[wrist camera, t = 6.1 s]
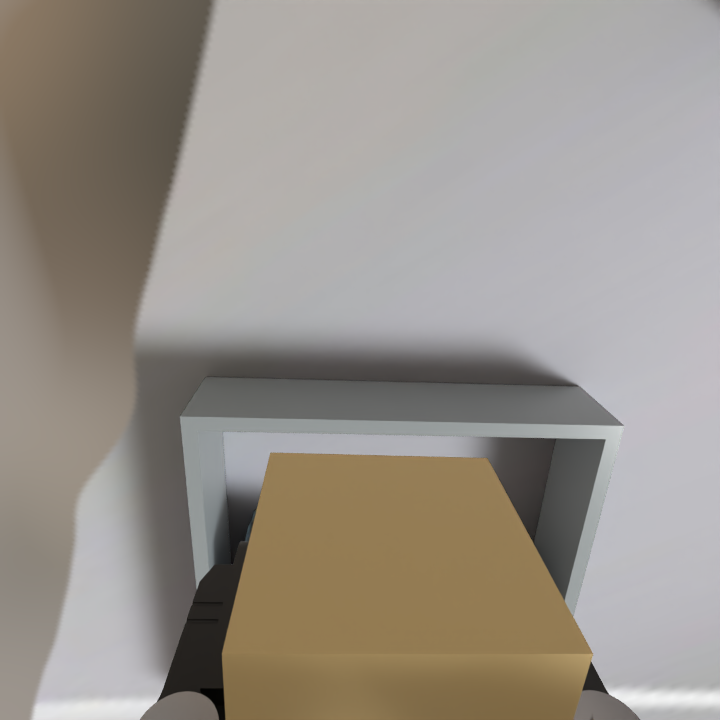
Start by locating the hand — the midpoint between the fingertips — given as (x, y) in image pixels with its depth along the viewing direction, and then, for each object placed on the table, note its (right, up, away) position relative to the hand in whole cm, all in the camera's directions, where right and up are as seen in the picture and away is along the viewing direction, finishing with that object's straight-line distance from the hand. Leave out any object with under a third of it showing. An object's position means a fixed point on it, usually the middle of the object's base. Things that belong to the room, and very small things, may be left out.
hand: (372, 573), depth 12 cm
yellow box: (0, 0, +1) cm, 0 cm away
